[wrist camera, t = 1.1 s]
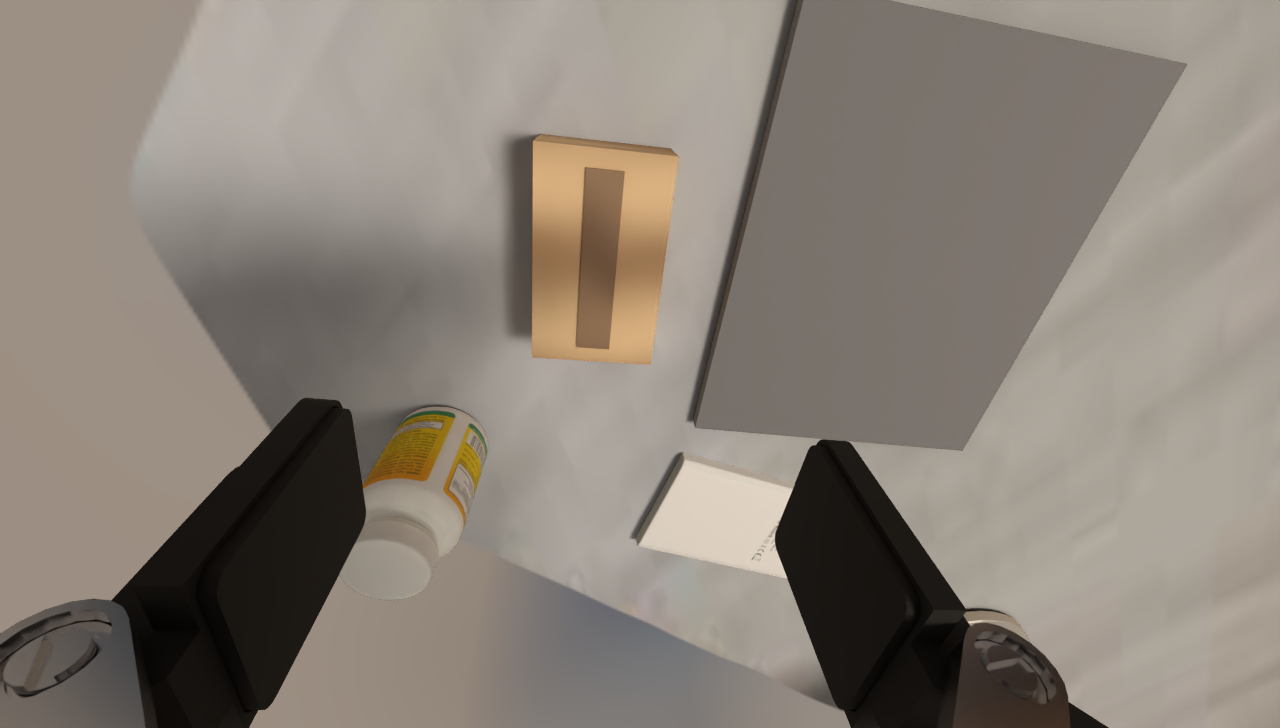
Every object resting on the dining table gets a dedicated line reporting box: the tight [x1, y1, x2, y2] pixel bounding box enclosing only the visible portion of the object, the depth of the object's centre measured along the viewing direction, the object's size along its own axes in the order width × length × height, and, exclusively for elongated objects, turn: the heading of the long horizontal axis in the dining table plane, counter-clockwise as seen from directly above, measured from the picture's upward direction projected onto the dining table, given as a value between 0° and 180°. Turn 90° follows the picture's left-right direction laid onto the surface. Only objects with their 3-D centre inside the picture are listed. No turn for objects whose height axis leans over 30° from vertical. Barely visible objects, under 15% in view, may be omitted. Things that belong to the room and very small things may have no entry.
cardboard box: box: [532, 134, 679, 365], centre depth 24 cm, size 10×6×3 cm, turn 174°
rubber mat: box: [693, 0, 1187, 451], centre depth 27 cm, size 22×18×1 cm
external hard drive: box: [636, 452, 795, 579], centre depth 35 cm, size 2×8×12 cm
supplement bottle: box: [339, 407, 488, 600], centre depth 26 cm, size 5×5×10 cm
